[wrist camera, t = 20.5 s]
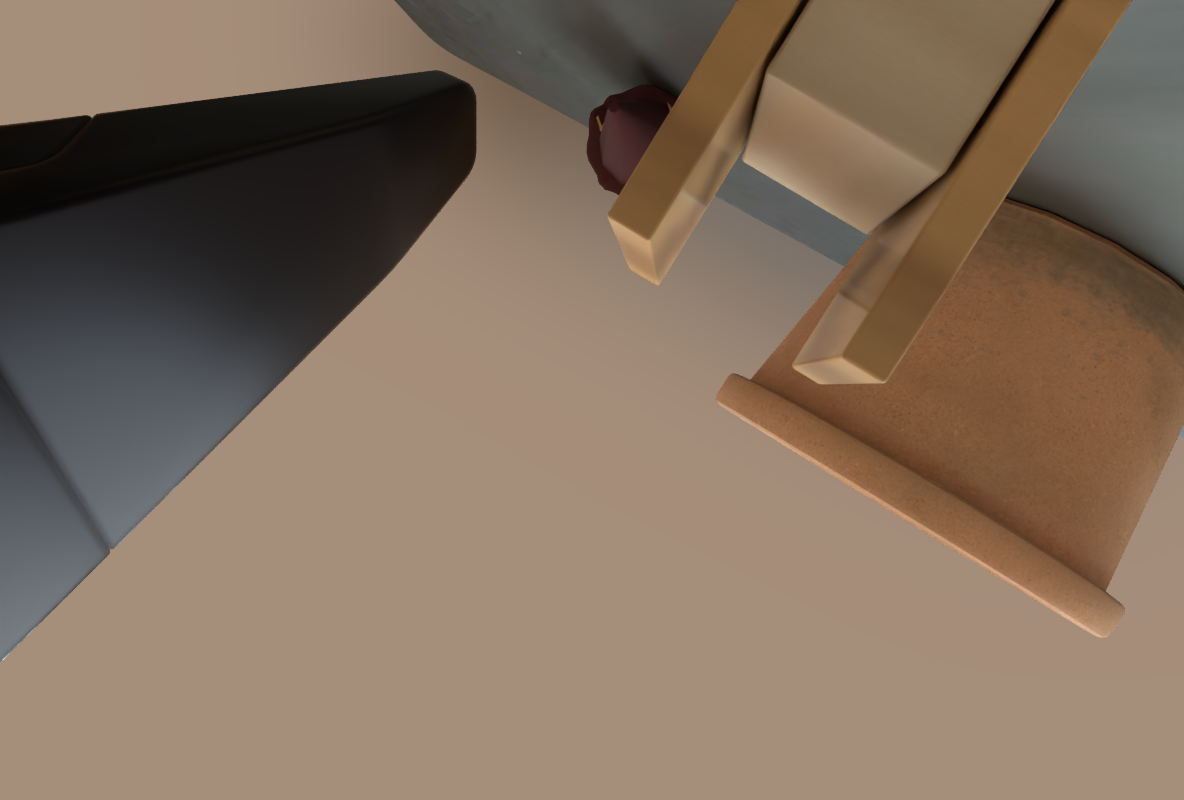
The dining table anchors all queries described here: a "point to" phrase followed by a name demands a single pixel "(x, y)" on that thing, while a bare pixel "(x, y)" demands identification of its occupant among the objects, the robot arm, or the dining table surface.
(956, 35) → the napkin holder
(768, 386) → the pottery
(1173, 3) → the dining table surface
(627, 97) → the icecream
